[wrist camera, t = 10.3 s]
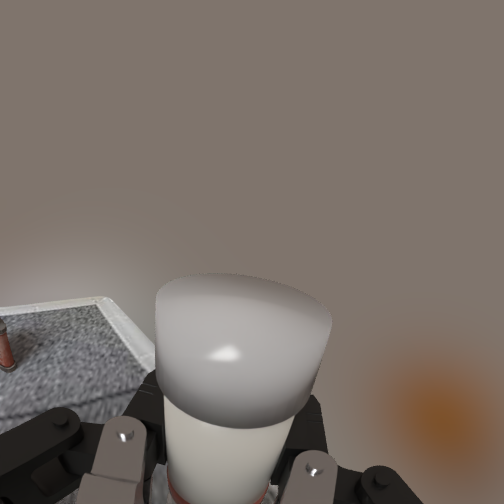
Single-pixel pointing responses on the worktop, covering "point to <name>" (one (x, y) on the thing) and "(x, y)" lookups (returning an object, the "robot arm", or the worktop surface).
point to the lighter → (5, 351)
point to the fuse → (232, 380)
